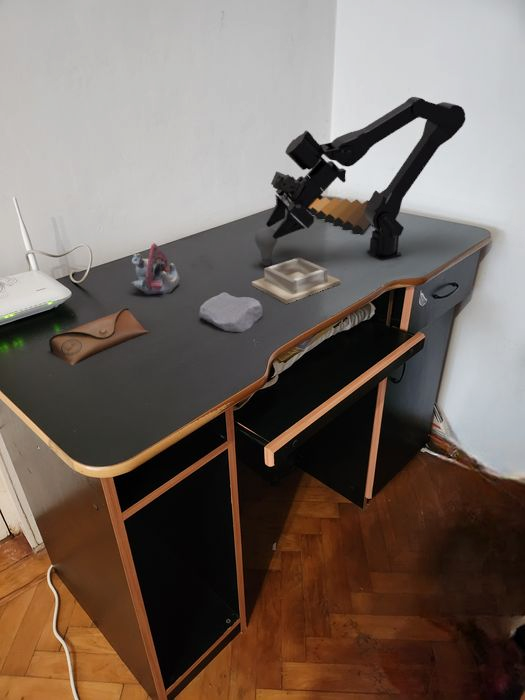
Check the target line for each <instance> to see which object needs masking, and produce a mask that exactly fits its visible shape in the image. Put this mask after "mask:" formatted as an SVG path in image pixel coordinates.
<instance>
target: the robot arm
mask: <svg viewBox="0 0 525 700" xmlns="http://www.w3.org/2000/svg"><path fill="white" fill-rule="evenodd" d="M418 118H419V119H424V120H426V121H425V124H424V127H423V132H422V135H421V137H420V139H419V140H418V142H417V143H416V144H415V146H414V147H413V149H412V150H411V152H410V154H409V155H408V156H407V157H406V159H405V161H404V163H403V164H402V165H401V167H399V169H398V171H397V172H396V174H395V175H394V177H393V178H392V180H391V181H390V183H389V184H388V186H387V187H386V188H385V189H383V190H382V191H381V192H379V191H377V190H374V192H373V193H372V195H371V197H370V199H369V200H368V202H367V203H366V205H367V207H366V209H365V217H366V219H367V220H368V221H369V222H370V223H371V224H370V225H371V227H372V228H374V230H372V232H371V237H370V239H369V241H370V243H369V249H368V250H366V251H367V253H368V254H370V255H371V256H373V257H375V258H377V259H378V260H380V261H381V260H386V259H391V258H395V257H400V256H402V253H401V252H400V251H399V239H400V236H401V235H402V233H403V231H404V226H403V225H402V224H401V223H400V222H399V221H398V220H397V217H398V216H399V213H400V211H401V207H402V202H403V200H404V197H406V194H407V193H408V192H409V191H410V189H411V187H412V186H413V185H414V183H415V181H416V180H417V179H418V177H420V175H421V173H422V172H423V170H424V169H425V167H426V166H427V165H428V164H429V162H430V160H431V159H432V157H433V156H434V155H435V153H436V152H437V150H438V149H439V148H440V147H441V145H443V144H445V143H446V142H447V141H449V140H451V139H452V138H453V137H454V135H456V134H457V133H458V131H460V129H462V127H463V126H464V123H465V122H466V113H465V110H464V108H463V107H462V106H460V105H459V104H454V103H450V102H447V101H446V102H444V101H442V102H439V103H435V102H430V101H427V100H425V99H424V98H421V97H417V96H411V97H409V98H408V99H407V100H405V102H403V103H401V104H399V105H398V106H397V107H395V108H393V109H391V110H390V111H388V112H387V113H385V114H384V115H383V116H381V117H379V118H377V119H376V120H373V122H371V123H369V124H368V125H366V126H365V127H363V128H360V129H357V130H354V131H350V132H347V133H344V134H343V135H340V136H337V137H336V138H334V139H333V140H332V141H331V142H327V143H323V144H320V143H318V142H317V140H316V139H315V137H314V136H313V134H312V133H311V132H309V131H308V130H304V132H303V133H301V134H299V135H298V136H297V137H296V138H293V140H291V141H290V143H289V144H288V146H287V147H286V149H285V154H286V155H287V156H288V157H289V158H290V159H291V160H292V161H293V162H294V163H295V164H296V165H297V166H298V167H299V168H300V169H301V171H304V170H309V171H308V172H307V174H306V175H305V176H304V177H303V176H301V175H300V176H299V177H298V178H297V179H296V178H295V177H294V176H291V175H289V174H284V173H282V172H280V171H275V174H274V175H273V178H272V181H271V183H270V184H271V186H272V188H274V189H275V192H276V194H275V195H274V196H275V205H274V208H273V210H272V211H271V213H270V216H269V217H268V220H267V222H266V224H265V225H266V227H269V228H271V227H272V226H274V225H276V224H277V223H279V222H280V221H281V222H280V224H279V226H278V227H277V228H276V230H274V231H275V232H274V234H273V238H275V239H277V240H278V239H279V238H282V237H284V236H287V235H290V234H292V233H294V232H296V231H300V230H305V229H306V228H307V229H309V228H310V227H312V225H313V224H314V222H315V216H312V214H311V213H310V212H309V211H310V209H309V207H310V206H311V205H312V204H313V203H314V202H315V201H316V199H317V198H318V199H319V200H321V199H323V195H322V194H323V193H324V192H325V191H326V190H327V189H328V188H329V187H330V186H331V185H332V183H334V182H335V180H336V179H338V180H339V181H340V182H342V183H345V182H346V173H347V170H346V169H345V168H343V167H348V168H349V167H352V166H354V165H355V164H356V163H358V162H359V161H360V160H362V158H363V157H364V156H366V155H367V153H368V152H369V151H370V149H371V148H373V146H375V145H376V144H378V143H379V142H381V141H382V140H384V139H385V138H387V137H389V136H391V135H392V134H394V133H395V132H397V131H398V130H400V129H402V128H403V127H405V126H407V125H408V124H410V123H411V122H414V120H415V121H416V119H418ZM323 156H325V157H326V158H327V159H329V161H326V160H325V159H324V157H323ZM334 162H337V163H338V164H339V165H341V166H343V167H342V168H339V167H338V165H336V164H335V163H334Z"/></svg>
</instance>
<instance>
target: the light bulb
mask: <svg viewBox="0 0 525 700" xmlns="http://www.w3.org/2000/svg"><path fill="white" fill-rule="evenodd" d="M275 231H276V230H274V229H273V228H271V227H268V226H263V227H261V228H259V229H258V230H257V231H256V233H255V235H254V242H255V244H256V246H257V247H258V250H259V252H260V257H261V261H262V263H261V264H262V265H263V266H265V267H270V266H271V265H272V260H273V258H272V257H273V252H274V250H275V247H276V245H277V243H278V238H277V239H275V238H273V234H274V232H275Z"/></svg>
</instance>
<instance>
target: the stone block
mask: <svg viewBox="0 0 525 700" xmlns="http://www.w3.org/2000/svg"><path fill="white" fill-rule="evenodd" d="M198 315H199V317H200V318H201V319H203V320H204V321H206V322H208V323H210V324H213V326H215V327H217V328H219V329H221V330H223V331H225V332H231V333H232V332H234V333H235V332H236V333H244V331H247V330H249V329H250V328H251V327H252V326H253V325H254V324H255V323H256V322H258V321H259V320H260V319H261V318H262V316H263V307H262V304H261V303H260V301H259V300H257V299H255V298H254V297H248V296H247V297H246V296H242V297H236V296H234V295H230V294H229V293H228V292H225V291H224V292H221V293H220V294H218V295H214V296H213V297H210V298H209V299H207V300H206V301H205V302H203V303H202V305H201V306H200V307H199V312H198ZM254 322H255V323H254Z"/></svg>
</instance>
